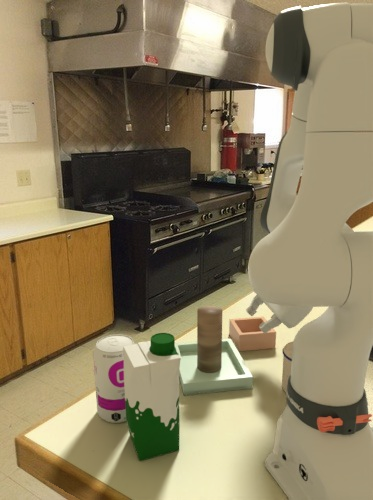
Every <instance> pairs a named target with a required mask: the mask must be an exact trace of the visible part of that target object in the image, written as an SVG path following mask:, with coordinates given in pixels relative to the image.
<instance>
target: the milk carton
mask: <svg viewBox="0 0 373 500" xmlns="http://www.w3.org/2000/svg"><path fill="white" fill-rule="evenodd" d="M175 343H176V342H175V336H174V335H173V334H171V333H167V332H158V333H155V334H152V336H151V337H150V340H148V341H140V342H137V343H135V344H133V345H128V346H123V353H124V388H125V407H126V421H125V422H126V425H127V429H128V432H129V433H128V434H129V436H130V439H131V441H132V444H133V447H134V450H135V452H136V455H137V457H138V460H139V462H142V461H145V460H149V459H152V458H157V457H159V456H163V455H167V454H170V453H173V452H174V453H175V452H177V451H179V450H180V426H181V425H180V380H179V368H180V360H181V358H180V357H179V354H178V353H177V351H176V348H175Z"/></svg>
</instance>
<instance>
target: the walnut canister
mask: <svg viewBox="0 0 373 500" xmlns="http://www.w3.org/2000/svg"><path fill="white" fill-rule="evenodd" d="M196 312H197V315H196V316H197V318H196V319H197V322H196V323H197V325H196V326H197V328H196V329H197V332H196V335H197V337H196V338H197V339H196V341H197V368H198V369H199V370H200V371H202V372H205V373H215V372H218V371H219V370H220V369H221V362H222V339H223V309H222V308H221V307H219V306H215V305H203V306H200V307H198V308H197V311H196Z"/></svg>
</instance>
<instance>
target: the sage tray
mask: <svg viewBox="0 0 373 500" xmlns="http://www.w3.org/2000/svg"><path fill="white" fill-rule="evenodd" d="M175 348H176V351H177V353H178V354H179V357H180V358H181V360H180V368H179V385H180V387H181V390H182V394H183V396H192V395H203V394H211V393H213V394H214V393H222V392H229V391H240V390H249V389H250V390H251V389H253V388H254V387H253V385H254V383H253V382H254V376H253V374H252V372H251V371H250V368H248V366H247V364H246V362H245V360H244V359H243V356H242V355H241V354H240V351H239V350H238V349H237V347H236V345H235V343H234V342H233V340H232V338H222V362H221V369H220V370H219V371H218V372H215V373H205V372H202V371H200V370H199V369H198V368H197V340H196V341H185V342H175Z"/></svg>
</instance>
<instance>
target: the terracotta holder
mask: <svg viewBox="0 0 373 500" xmlns="http://www.w3.org/2000/svg"><path fill="white" fill-rule="evenodd" d="M263 321H264V322H267V321H268V320H267V319H266V318H265V316H250V317H240V318H229V321H228V322H229V324H228V326H229V327H228V328H229V330H228V334H229V337H230V339H231V340H232V341H233V343H234V345H235V347H236V348H237V350H238V352H243V351H244V352H247V351H257V350H267V349H276V343H277V342H276V341H277V331H276V329H275V328H272V329H270V330H269V331H268V332H267V333H263V332H262V331H261V330H260V328H259V325H261V323H262V322H263Z"/></svg>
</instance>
